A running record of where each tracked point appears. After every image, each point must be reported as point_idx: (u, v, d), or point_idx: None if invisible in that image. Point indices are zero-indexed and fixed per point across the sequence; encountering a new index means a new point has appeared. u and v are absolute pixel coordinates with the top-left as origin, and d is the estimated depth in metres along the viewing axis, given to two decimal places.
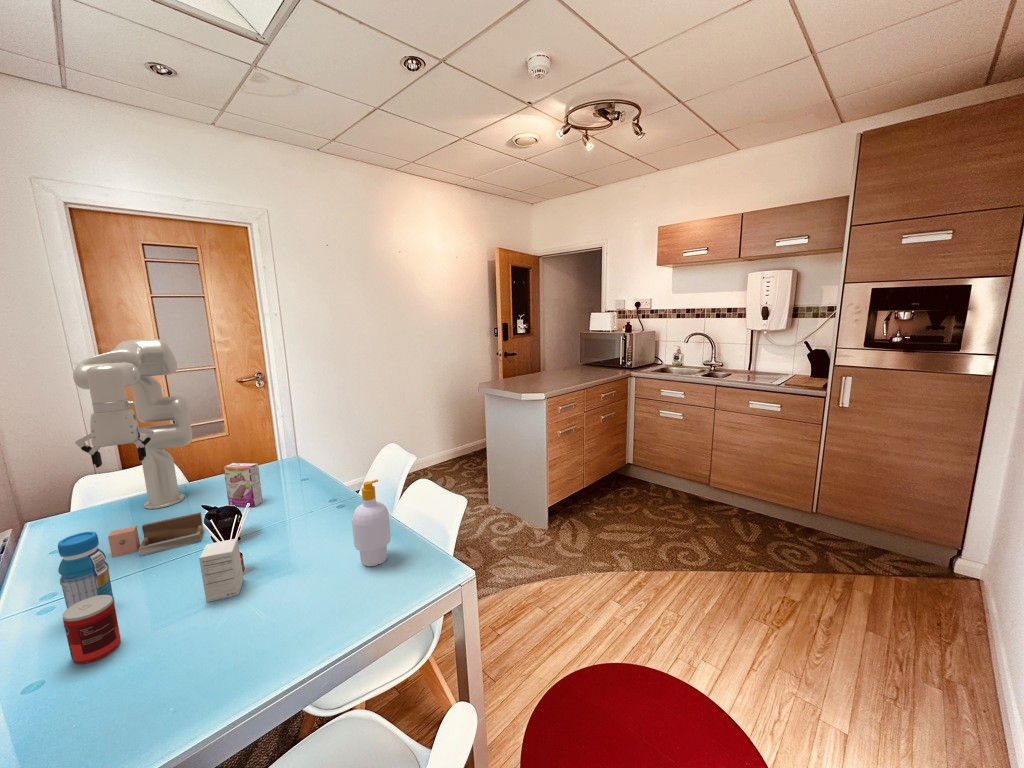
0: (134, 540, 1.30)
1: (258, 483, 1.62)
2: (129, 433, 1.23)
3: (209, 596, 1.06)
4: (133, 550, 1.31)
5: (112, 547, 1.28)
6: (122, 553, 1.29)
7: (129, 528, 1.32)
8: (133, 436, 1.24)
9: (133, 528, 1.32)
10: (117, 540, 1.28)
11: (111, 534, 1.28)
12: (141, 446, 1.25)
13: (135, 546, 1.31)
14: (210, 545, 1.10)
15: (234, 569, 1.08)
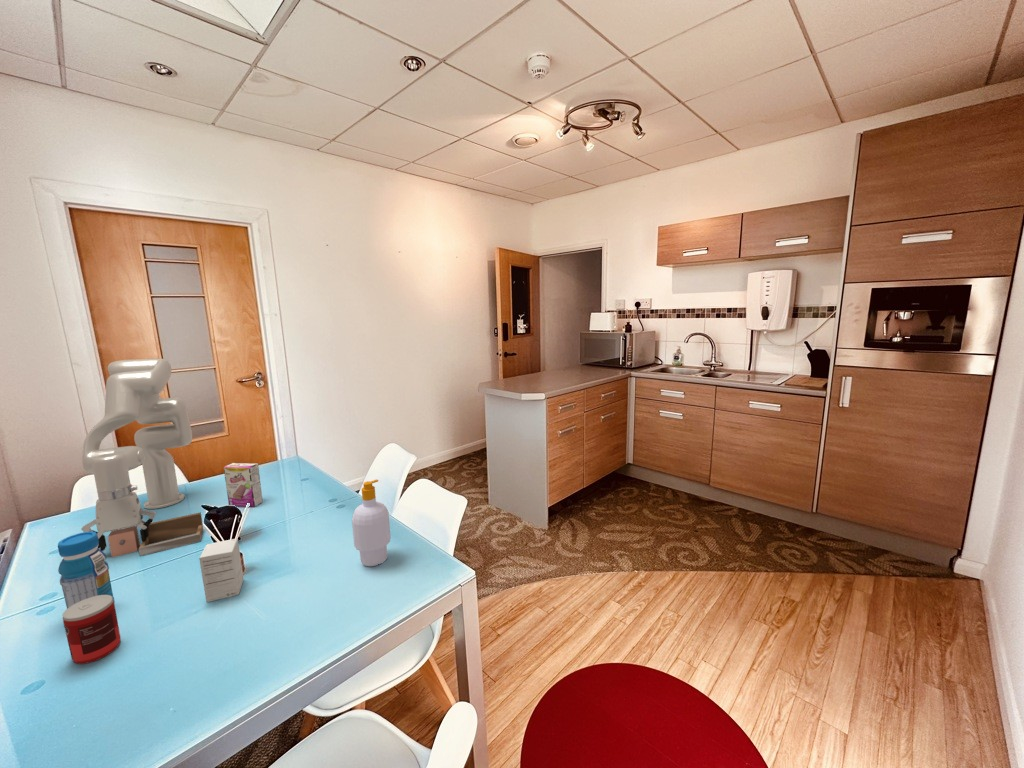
0: (134, 540, 1.30)
1: (258, 483, 1.62)
2: (132, 517, 1.29)
3: (209, 595, 1.06)
4: (133, 550, 1.31)
5: (112, 547, 1.28)
6: (122, 553, 1.29)
7: (129, 528, 1.32)
8: (136, 520, 1.30)
9: (133, 528, 1.32)
10: (117, 540, 1.28)
11: (111, 534, 1.28)
12: (143, 528, 1.32)
13: (135, 546, 1.31)
14: (210, 545, 1.10)
15: (234, 569, 1.08)
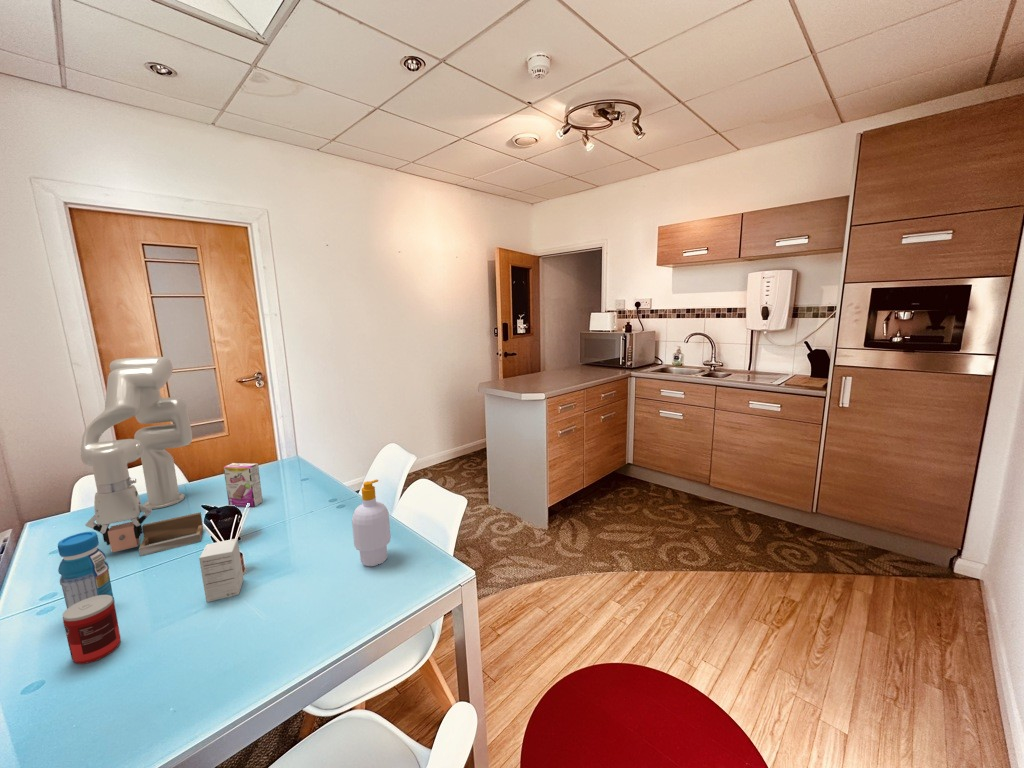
0: (134, 535, 1.31)
1: (258, 483, 1.62)
2: (131, 510, 1.29)
3: (209, 596, 1.06)
4: (133, 545, 1.31)
5: (112, 542, 1.28)
6: (122, 548, 1.30)
7: (129, 523, 1.32)
8: (135, 513, 1.30)
9: (133, 523, 1.32)
10: (116, 535, 1.28)
11: (111, 529, 1.28)
12: (137, 525, 1.31)
13: (135, 541, 1.31)
14: (210, 545, 1.10)
15: (234, 569, 1.08)
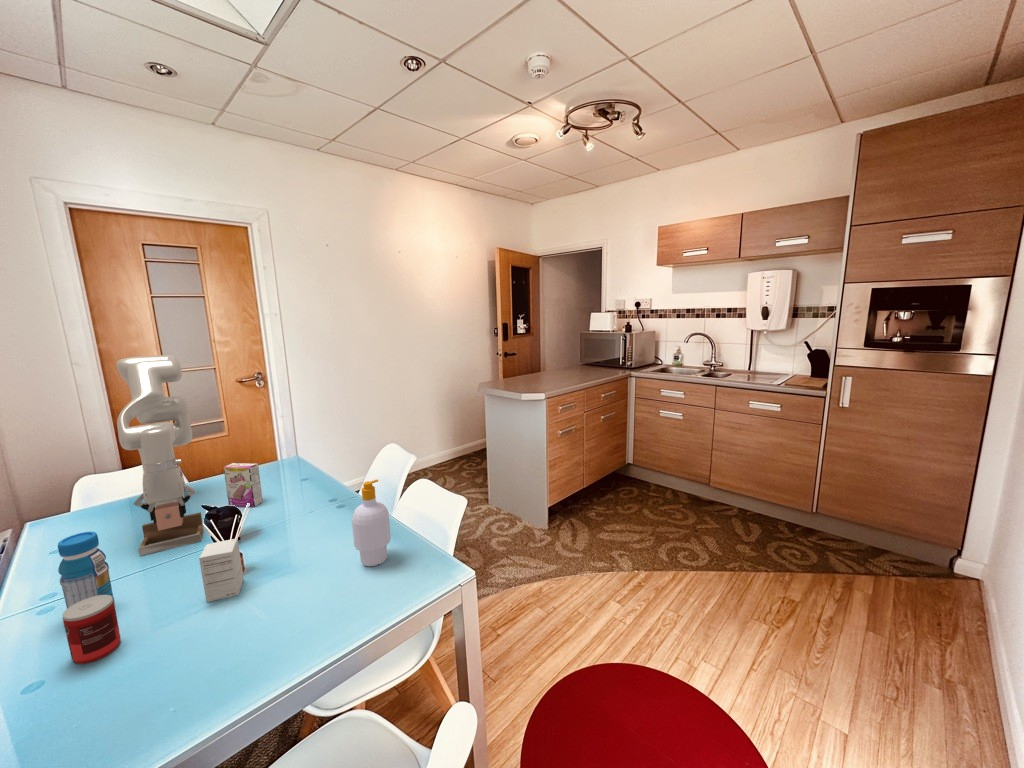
0: (179, 514, 1.34)
1: (258, 483, 1.62)
2: (177, 489, 1.33)
3: (209, 596, 1.06)
4: (178, 524, 1.35)
5: (158, 521, 1.32)
6: (167, 527, 1.33)
7: (173, 503, 1.36)
8: (180, 492, 1.34)
9: (177, 503, 1.35)
10: (163, 513, 1.32)
11: (157, 508, 1.32)
12: (182, 504, 1.35)
13: (180, 520, 1.35)
14: (210, 545, 1.10)
15: (234, 569, 1.08)
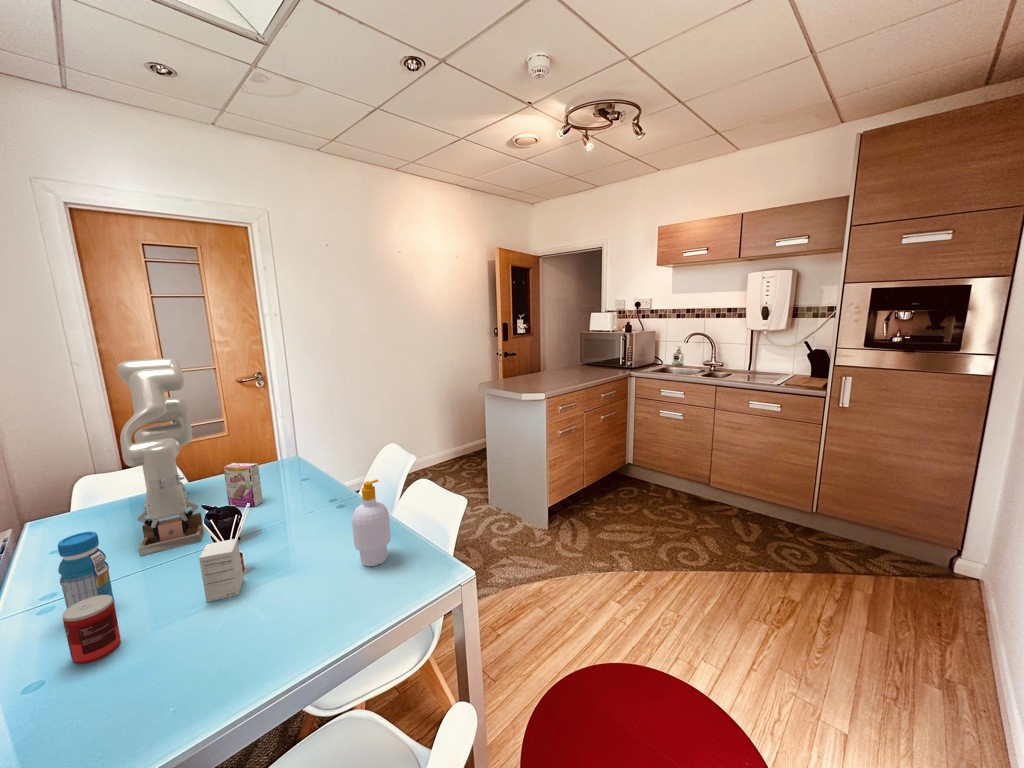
0: (182, 530, 1.36)
1: (258, 483, 1.62)
2: (180, 505, 1.34)
3: (209, 596, 1.06)
4: None
5: (161, 536, 1.33)
6: None
7: (176, 518, 1.37)
8: (183, 508, 1.35)
9: (180, 518, 1.37)
10: (166, 529, 1.34)
11: (160, 524, 1.33)
12: (185, 519, 1.36)
13: (182, 535, 1.36)
14: (210, 545, 1.10)
15: (234, 569, 1.08)
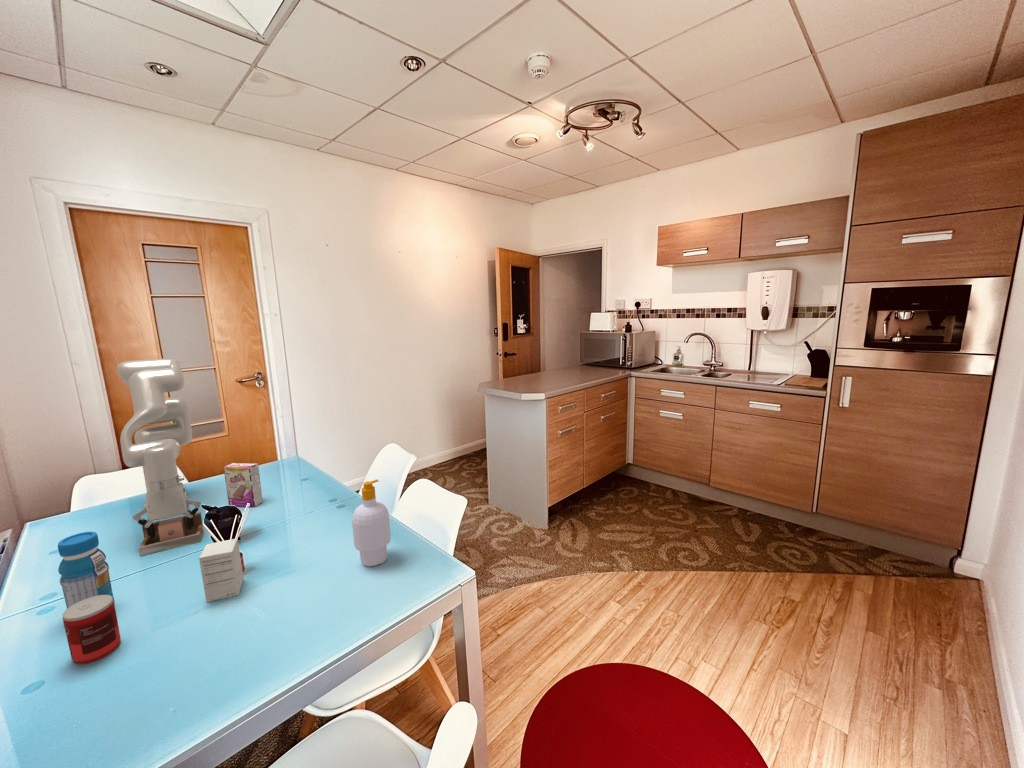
0: (182, 530, 1.36)
1: (258, 483, 1.62)
2: (180, 506, 1.34)
3: (209, 596, 1.06)
4: None
5: (161, 537, 1.33)
6: None
7: (176, 519, 1.37)
8: (183, 509, 1.35)
9: (180, 519, 1.37)
10: (166, 530, 1.34)
11: (160, 524, 1.33)
12: (190, 517, 1.37)
13: (182, 536, 1.36)
14: (210, 545, 1.10)
15: (234, 569, 1.08)
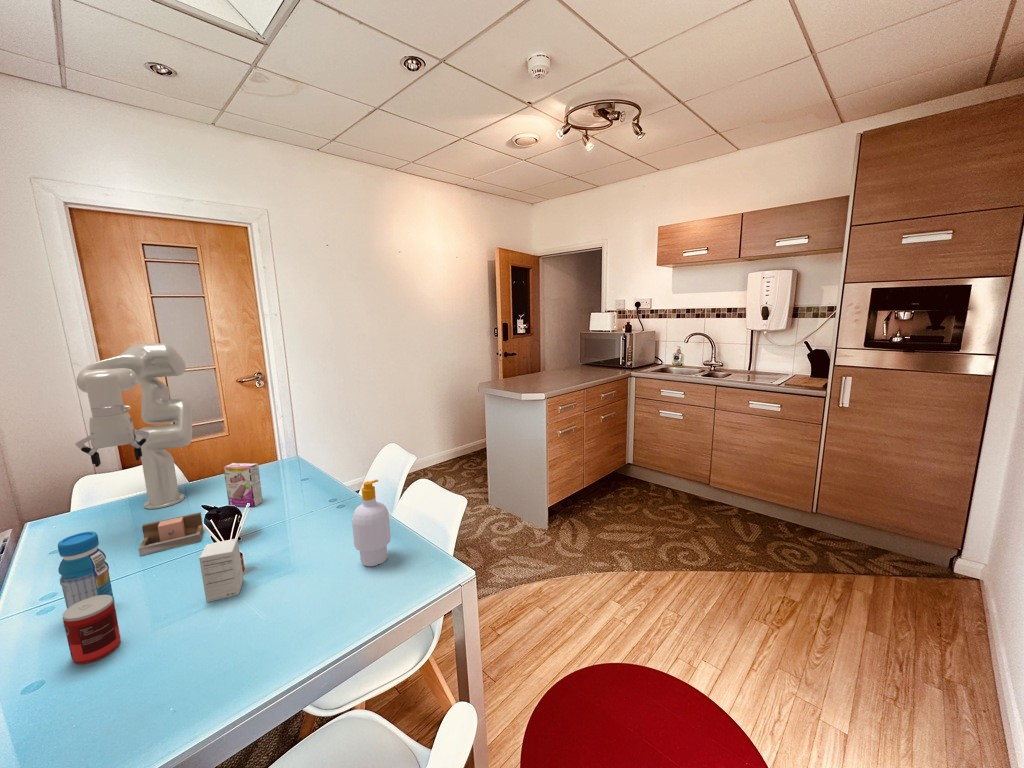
0: (182, 530, 1.36)
1: (258, 483, 1.62)
2: (126, 435, 1.32)
3: (209, 596, 1.06)
4: None
5: (161, 537, 1.33)
6: None
7: (176, 519, 1.37)
8: (130, 438, 1.33)
9: (180, 519, 1.37)
10: (166, 530, 1.34)
11: (160, 524, 1.33)
12: (137, 447, 1.35)
13: (182, 536, 1.36)
14: (210, 545, 1.10)
15: (234, 569, 1.08)
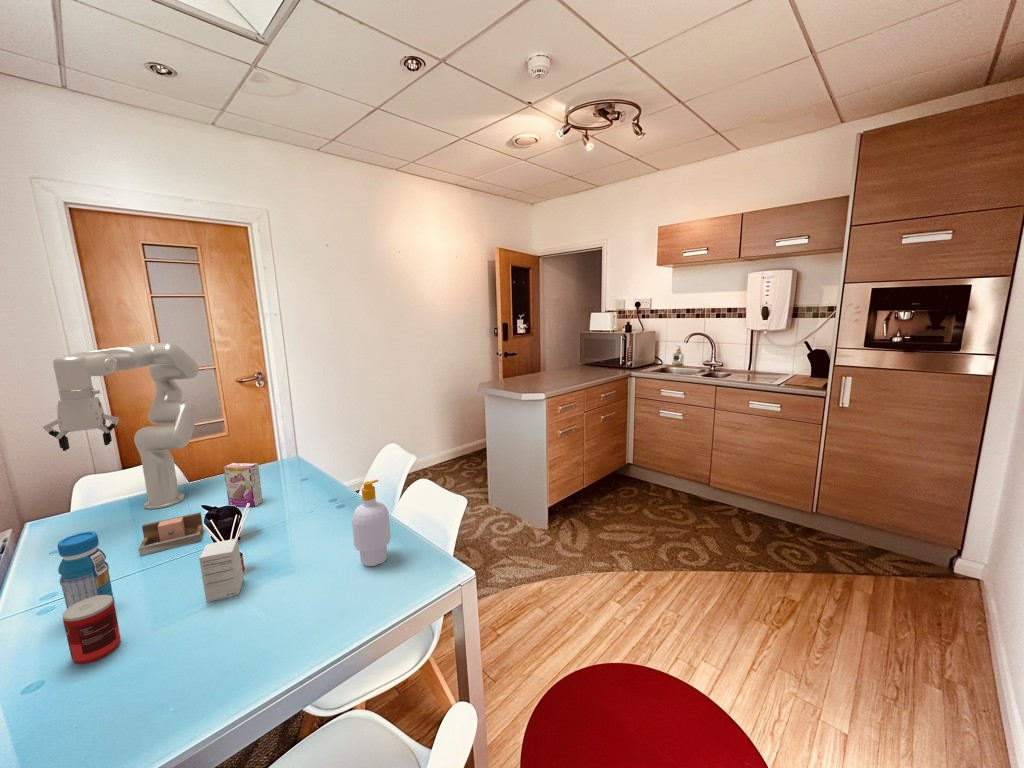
0: (182, 530, 1.36)
1: (258, 483, 1.62)
2: (94, 419, 1.32)
3: (209, 596, 1.06)
4: None
5: (161, 537, 1.33)
6: None
7: (176, 519, 1.37)
8: (98, 422, 1.33)
9: (180, 519, 1.37)
10: (166, 530, 1.34)
11: (160, 524, 1.33)
12: (106, 431, 1.35)
13: (182, 536, 1.36)
14: (210, 545, 1.10)
15: (234, 569, 1.08)
